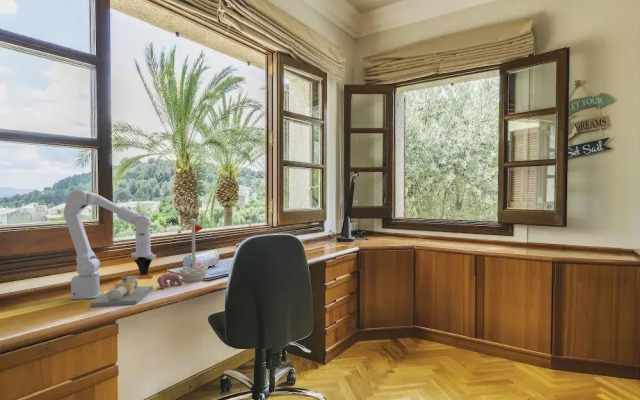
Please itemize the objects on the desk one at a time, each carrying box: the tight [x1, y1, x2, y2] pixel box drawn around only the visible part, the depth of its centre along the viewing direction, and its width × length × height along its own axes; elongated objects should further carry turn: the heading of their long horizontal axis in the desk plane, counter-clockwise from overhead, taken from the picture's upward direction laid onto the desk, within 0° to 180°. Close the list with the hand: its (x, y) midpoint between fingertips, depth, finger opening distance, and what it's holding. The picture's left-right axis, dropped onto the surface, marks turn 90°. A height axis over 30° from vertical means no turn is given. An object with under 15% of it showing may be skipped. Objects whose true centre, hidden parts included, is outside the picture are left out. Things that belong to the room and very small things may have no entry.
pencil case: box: [182, 249, 220, 269], centre depth 200 cm, size 21×9×10 cm, turn 151°
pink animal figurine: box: [157, 272, 183, 290], centre depth 163 cm, size 10×5×7 cm, turn 141°
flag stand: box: [179, 218, 209, 283], centre depth 176 cm, size 13×13×30 cm
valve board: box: [89, 279, 154, 308], centre depth 145 cm, size 16×22×7 cm
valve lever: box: [120, 273, 154, 281], centre depth 147 cm, size 12×3×2 cm, turn 100°
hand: (143, 275), depth 154 cm, fingers closed
